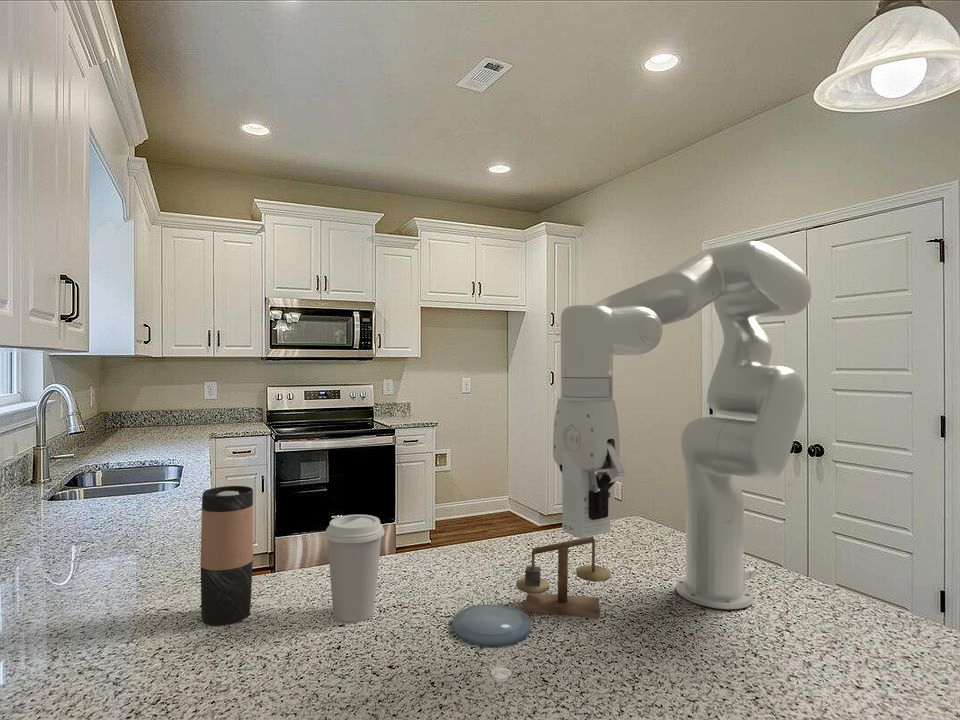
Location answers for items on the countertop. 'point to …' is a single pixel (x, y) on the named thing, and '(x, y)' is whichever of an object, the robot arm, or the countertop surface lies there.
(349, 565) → the coffee cup
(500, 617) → the dish
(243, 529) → the travel mug
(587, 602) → the balance
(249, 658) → the countertop surface
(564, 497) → the skincare box
